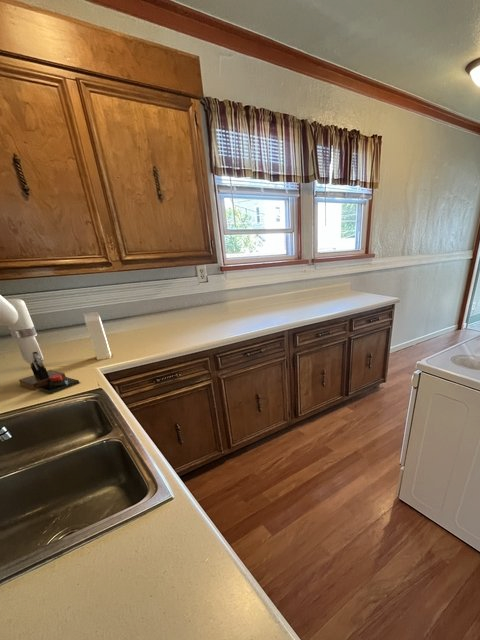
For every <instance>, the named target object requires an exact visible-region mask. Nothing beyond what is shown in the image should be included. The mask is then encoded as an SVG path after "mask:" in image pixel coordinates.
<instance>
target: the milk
mask: <svg viewBox="0 0 480 640" xmlns="http://www.w3.org/2000/svg"><path fill="white" fill-rule="evenodd" d="M83 318H84V323H85V326H86V329H87V332H88V335H89V339H90V342H91V345H92V348H93V351H94V355H95V358H96V360H97V361H99V360H105V359H106V360H107V359H111V358H112V352H111V349H110V346H109V342H108V339H107V336H106V332H105V328H104V325H103V321H102V319H101V317H100V314H99V312H98V311H95V312H87V313H86V312H85V313H83Z"/></svg>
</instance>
